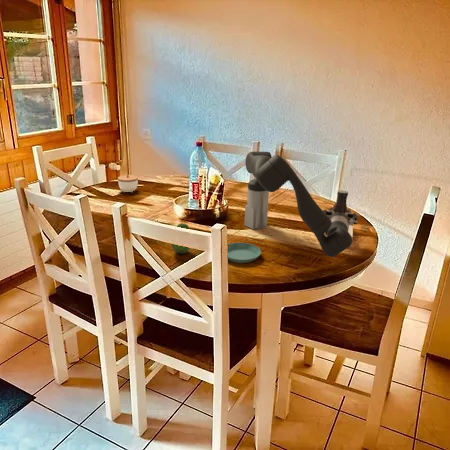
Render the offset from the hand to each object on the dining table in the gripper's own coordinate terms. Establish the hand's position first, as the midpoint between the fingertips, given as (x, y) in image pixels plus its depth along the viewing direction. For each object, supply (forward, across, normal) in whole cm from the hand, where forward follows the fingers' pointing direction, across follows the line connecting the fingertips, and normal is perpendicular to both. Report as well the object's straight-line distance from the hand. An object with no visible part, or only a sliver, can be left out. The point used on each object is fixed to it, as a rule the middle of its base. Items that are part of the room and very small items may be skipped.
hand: (339, 210), depth 170 cm
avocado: (-33, -56, -13) cm, 66 cm away
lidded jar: (+31, -113, -14) cm, 118 cm away
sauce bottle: (-2, 0, -11) cm, 11 cm away
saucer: (-28, -34, -13) cm, 46 cm away
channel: (+3, 0, -13) cm, 13 cm away
